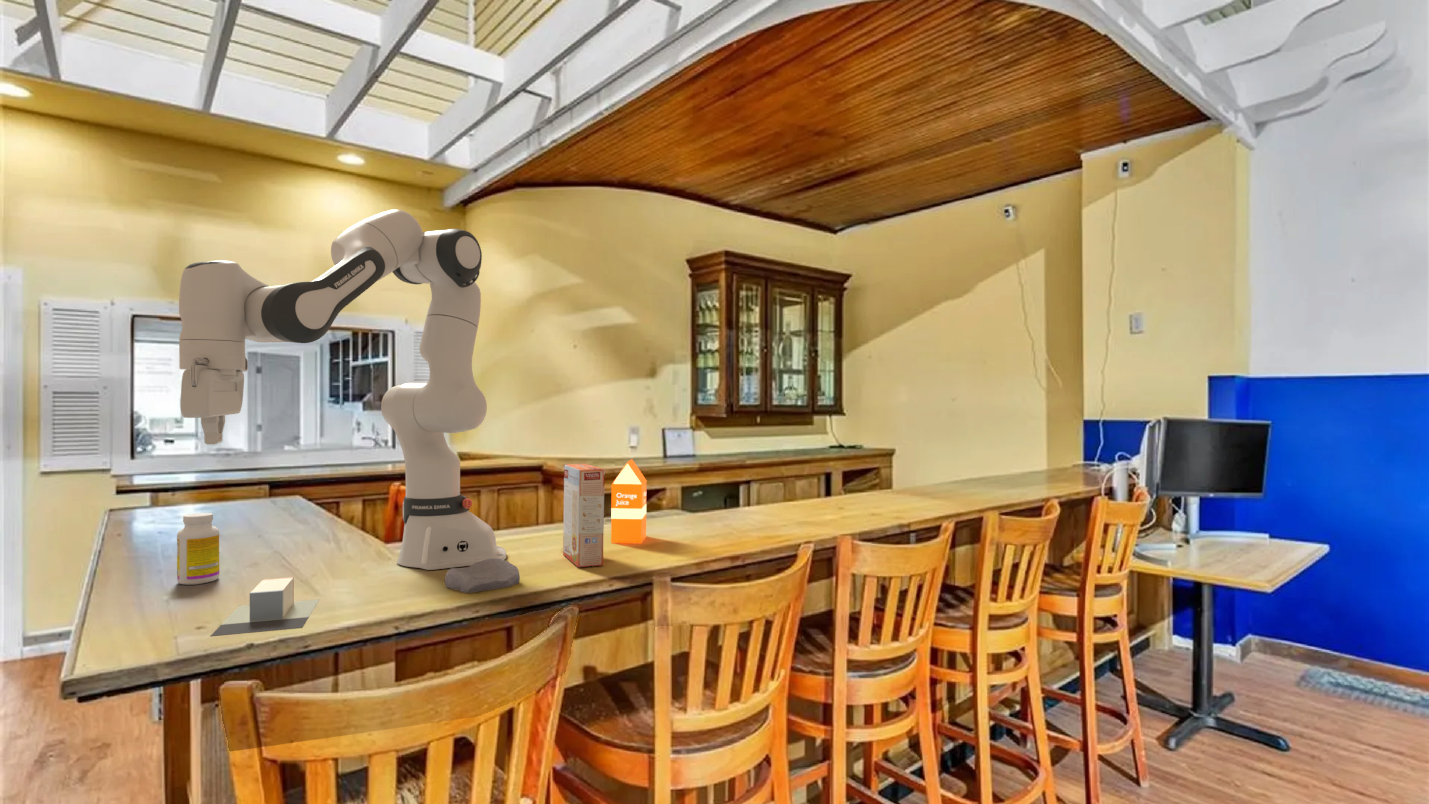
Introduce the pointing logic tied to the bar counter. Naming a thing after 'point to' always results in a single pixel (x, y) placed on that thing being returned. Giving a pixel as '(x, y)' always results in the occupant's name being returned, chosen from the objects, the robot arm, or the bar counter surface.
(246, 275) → the robot arm
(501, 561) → the stone block
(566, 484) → the cracker box
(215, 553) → the supplement bottle
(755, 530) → the bar counter surface
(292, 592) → the pillar block
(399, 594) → the bar counter surface
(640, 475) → the orange juice
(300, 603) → the bar mat
